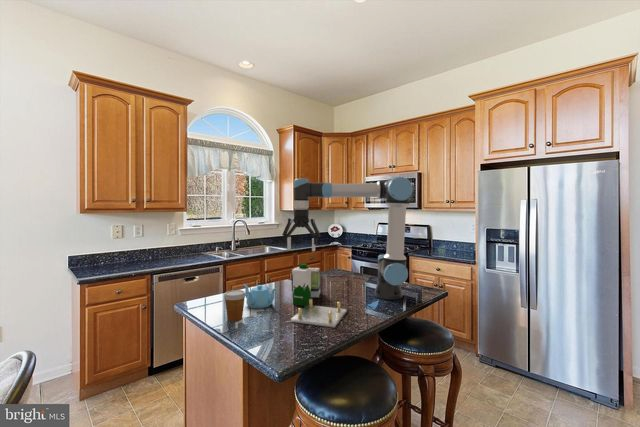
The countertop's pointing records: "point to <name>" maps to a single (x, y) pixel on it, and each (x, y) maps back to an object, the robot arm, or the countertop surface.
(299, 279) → the milk carton
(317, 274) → the tea box
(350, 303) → the countertop surface
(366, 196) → the robot arm
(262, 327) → the countertop surface
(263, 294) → the teapot
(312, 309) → the white flat square slab
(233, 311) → the disposable coffee cup
